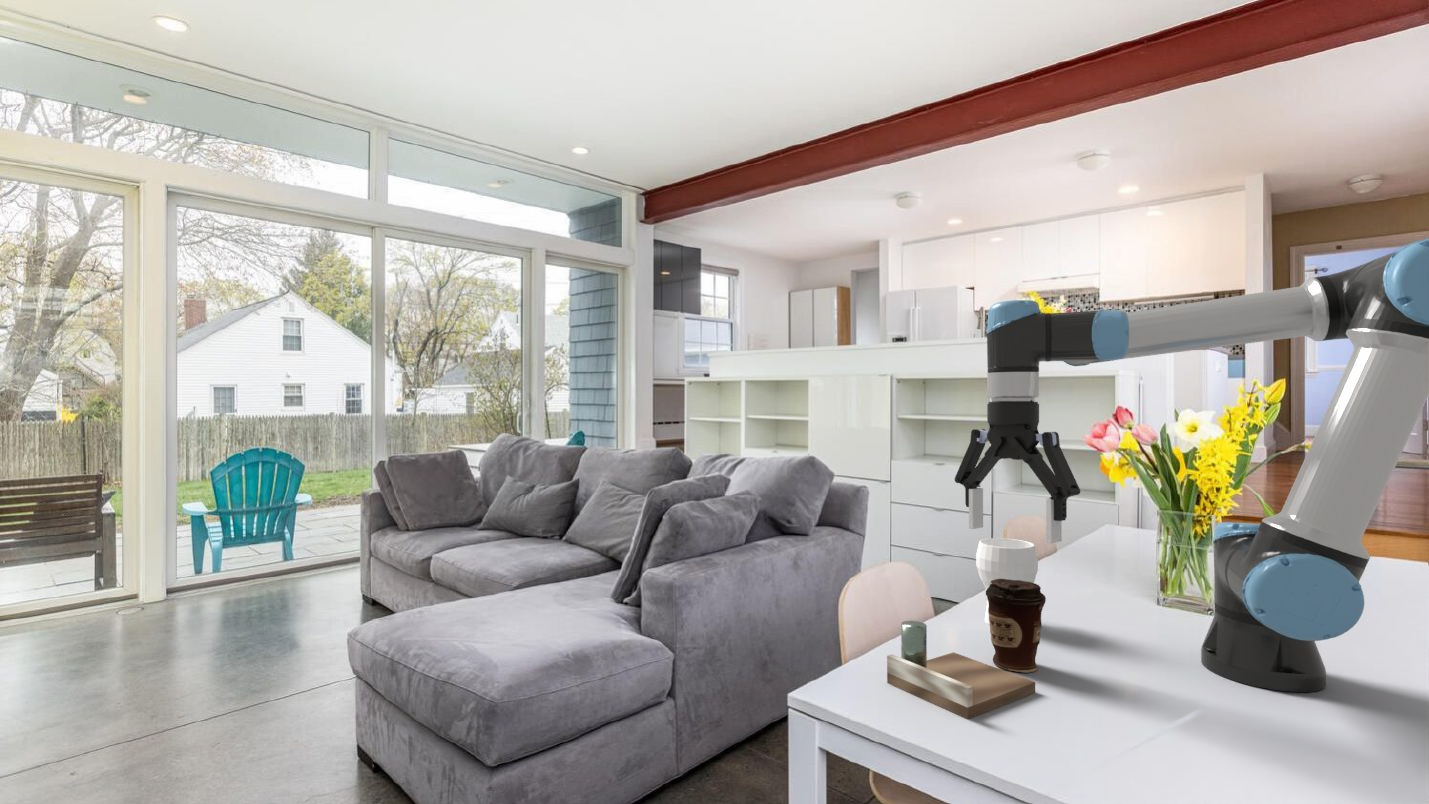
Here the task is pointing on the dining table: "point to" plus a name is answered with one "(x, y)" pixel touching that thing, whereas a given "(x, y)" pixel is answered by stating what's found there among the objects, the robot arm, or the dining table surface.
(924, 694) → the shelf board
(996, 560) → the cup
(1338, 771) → the dining table surface
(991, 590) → the coffee cup
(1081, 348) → the robot arm
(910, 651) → the green cylinder
